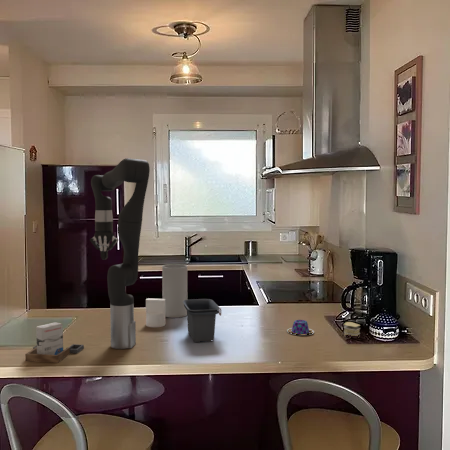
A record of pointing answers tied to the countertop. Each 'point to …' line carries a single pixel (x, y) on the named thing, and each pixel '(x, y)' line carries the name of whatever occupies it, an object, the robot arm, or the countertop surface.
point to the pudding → (300, 327)
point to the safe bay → (46, 356)
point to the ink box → (49, 338)
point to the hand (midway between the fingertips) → (104, 259)
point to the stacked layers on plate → (351, 329)
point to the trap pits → (73, 348)
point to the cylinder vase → (174, 289)
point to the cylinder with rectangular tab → (155, 312)
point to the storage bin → (201, 318)
